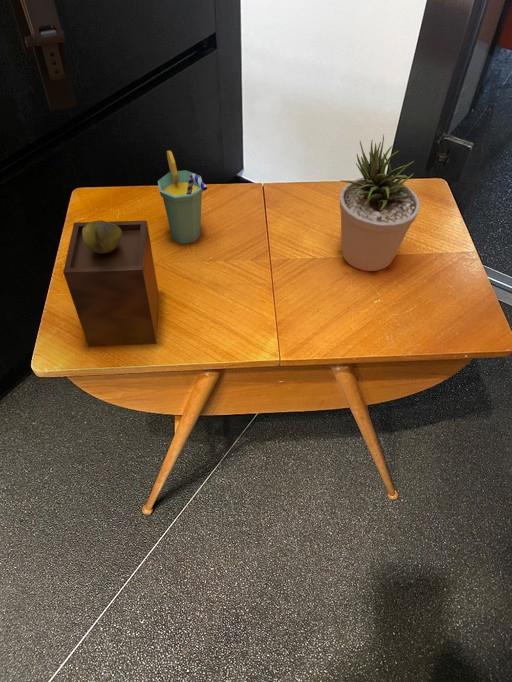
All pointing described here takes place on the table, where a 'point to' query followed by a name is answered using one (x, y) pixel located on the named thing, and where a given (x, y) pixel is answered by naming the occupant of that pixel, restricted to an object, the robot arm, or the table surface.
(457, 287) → the table surface
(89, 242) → the lime
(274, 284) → the table surface
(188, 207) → the cup
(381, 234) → the potted plant
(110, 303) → the dark brown box
